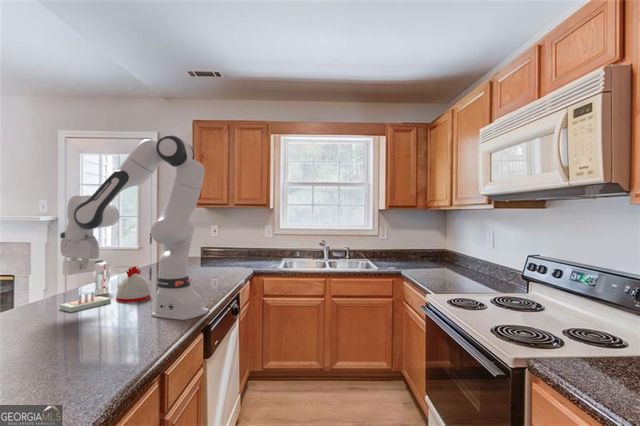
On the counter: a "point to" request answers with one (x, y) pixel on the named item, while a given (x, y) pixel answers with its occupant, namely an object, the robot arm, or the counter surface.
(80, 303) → the green peg board
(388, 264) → the counter surface
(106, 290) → the beer glass
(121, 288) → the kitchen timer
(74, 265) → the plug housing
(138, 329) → the counter surface
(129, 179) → the robot arm
